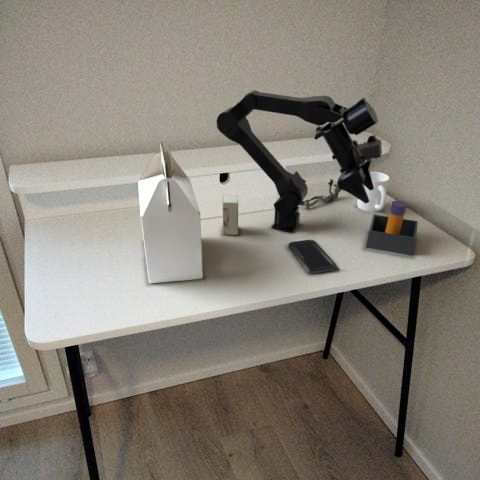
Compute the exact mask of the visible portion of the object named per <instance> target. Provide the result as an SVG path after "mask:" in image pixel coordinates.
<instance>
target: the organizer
mask: <svg viewBox="0 0 480 480" xmlns="http://www.w3.org/2000/svg"><path fill="white" fill-rule="evenodd" d="M388 218H389V215H387V216H386V215H381V214H373V215H372V218H371V222H370V226H369V230H368V235H367V239H366V245H365V248H366V249H370V250H376V251H381V252H387V253H393V254H400V255H405V256H410V257H411V256H413V252H414V250H415V249H414V248H415V244H416V241H417V235H418V223H419V222H418V220H413V219H407V218H403V221H402V225H401V229H400V233H399V235H395V234H389V233H385V231H386V226H387V222H388Z"/></svg>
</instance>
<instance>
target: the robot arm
mask: <svg viewBox="0 0 480 480" xmlns="http://www.w3.org/2000/svg"><path fill="white" fill-rule="evenodd" d="M254 110H255V111H261V112H267V113H274V114H281V115H288V116H294V117H297V118H299V119H301V120H302V121H304V122H307V123H309V124H312V125H315V126H317V127H316V128H315V134H314V140H318V139H320V138H321V137H323V139H324V142H325V143H326V144H327V146H328V148H329V149H330V151H331V153H332V155H331V158H332V160H333V161H335V160H336V162H337V164H338V165H339V167H340V169H339V172H340V175H339V177H338V179H337V183H336V185H337V186H338V187H339V189H340V190H341V191H343V192H346V193H348V194H350V195H351V196H353V197H355V198H356V199H357V200H358V199H359V200H361V201H362V202H364V203H365V204H366V203H368V202H369V198H368V195H367V193H366V190H365V187H366V188H368V189H369V190H370V191H371V190H373V189H374V187H373V183H372V179H371V175H370V172H371V171H370V166H371V164H372V160H373V159H379V158H381V157H382V154H383V148H382V140H381V139H380V138H377V136H376V135H375V134H372V135H368V138H367V141H364V142H362V143H359V142H358V141H357V140H355V139H352V136H351V135H355V136H358V135H360V134H362V133H363V132H365V131H367V130H368V129H370V128H371V127H374V126H375V125H377V124H378V122H379V121H378V119H379V118H378V116H377V113H376V111H375V108H374V107H373V106H371V104H370V103H369V101H367V99H366V97H362V98H360V99H359V100H358V101H357V102H356V103H355V104H352V105H351V106H349V107H345V106H343V105H341V104H339V103H336V102H335V101H334V99H333V98H332V97H331V96H328V95H314V96H312V95H311V96H307V97H297V96H290V95H283V94H276V93H270V92H262V91H258V90H251V91H249V92H248V93H246V94H245V95H244V96H243V98H242V99H241V100H239V101H238V102H237V103H236V104H235V105H234V106H231V107H229V108H227V109H226V110H224V111H222V112H221V113H220V114H219V115H218V116H217V117H216V128H217V130H218V131H219V132H220V133H221V134H222V135H223V136H224V137H226V139H228V140H229V141H232V142H234V143H236V144H238V145H239V146H241V148H242V149H243V150H244V151H245V152H246V153H247V154H248V156H249V157H250V158H251V159H252V160H253V162H255V163H256V165H258V167H260V169H261V170H262V171H263V172H264V173H265V175H266V176H267V177H268V178H269V179H270V180H271V182H273V184H274V187H275V189H276V191H277V194H278V198H277V199H276V201H275V202H274V203H273V208H274V219H273V220H274V221H273V224H272V225H271V229H275V230H278V231H283V232H287V233H293V232H294V231H295V230H296V229H297V228H298V227H300V218H301V213H300V211H299V210H300V207H299V206H301V205H300V204H301V202H302V201H304V199H305V198H306V197H307V195H308V190H309V189H308V185H307V184H306V182H307V180H305V179H304V178H302V176H301V175H300V173H299V172H298V170H296V171H295V172H294V173H291V172H289V171H288V170H286V168H285V167H284V166H283V165H282V164H281V163H280V162H279V161H278V160H277V158H275V156H274V155H273V154H272V153H271V152H270V151H269V149H268V148H267V147H266V146H265V145H264V144H263V142H262V141H261V140H260V139H259V138H258V137H257V136H256V134H254V132H253V130H252V127H251V124H250V122H249V120H248V118H247V116H249V115H250V114H251V113H252V112H253V111H254ZM364 186H365V187H364Z"/></svg>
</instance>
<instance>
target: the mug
mask: <svg viewBox="0 0 480 480" xmlns="http://www.w3.org/2000/svg"><path fill="white" fill-rule="evenodd" d="M370 175H371V179H372V183H373V187H374V189H373V190H371V191H370V190H369V189H368V188H366V187H365V186H364V187H365V190H366V193H367V195H368V198H369V202H368V203H366V204H365V203H364V202H362V201H361V200H359V199H358V198H357V202H356V206H357V208H358V209H360V210H362V211H365V212H373V213H374V212H379V211H382V210H383V209H384V207H385V205H386V201H387V191H388V187H389V184H390V183H389V182H390V176H389V175H388V174H386V173H383V172H379V171H370Z"/></svg>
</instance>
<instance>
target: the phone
mask: <svg viewBox="0 0 480 480" xmlns="http://www.w3.org/2000/svg"><path fill="white" fill-rule="evenodd" d="M287 248H288V250H289V251H290V252H291V253H292V255H293V256H294V258H295V259H297V261H298V262H299V264H300V265H301V266H302V267H303V269H304V270H305V271H306V272H307V273H308V274H319V273H326V272H331V271H335V270H336V266H337V264H336V263H335V262H334V261H333V259H332V258H331V257H330V255H328V254H327V253H326V251H324V249H323V248H322V247H321V246H320V245H319V243H317V241H316V240H314V239H304V240H298V241H297V240H296V241H289V243H288V245H287Z"/></svg>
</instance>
